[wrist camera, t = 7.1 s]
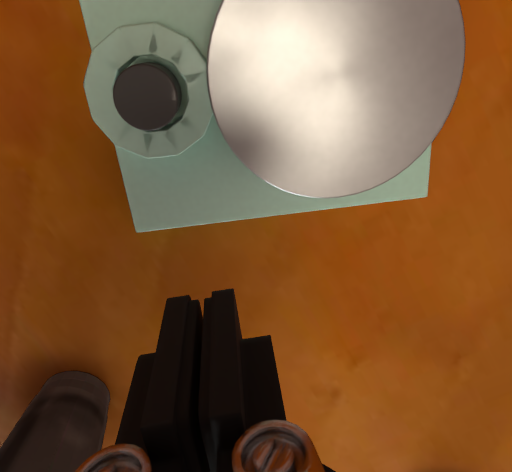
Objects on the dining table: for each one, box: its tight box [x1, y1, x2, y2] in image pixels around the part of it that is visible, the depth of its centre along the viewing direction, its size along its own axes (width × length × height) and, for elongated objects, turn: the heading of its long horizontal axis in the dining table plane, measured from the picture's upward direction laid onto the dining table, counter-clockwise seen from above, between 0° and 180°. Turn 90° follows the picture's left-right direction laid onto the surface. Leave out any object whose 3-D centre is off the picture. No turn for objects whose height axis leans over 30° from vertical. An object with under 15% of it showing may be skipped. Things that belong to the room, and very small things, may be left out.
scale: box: [79, 0, 431, 233], centre depth 19 cm, size 16×14×3 cm
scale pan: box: [206, 0, 465, 198], centre depth 18 cm, size 11×11×1 cm
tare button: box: [113, 62, 182, 131], centre depth 18 cm, size 3×3×2 cm
